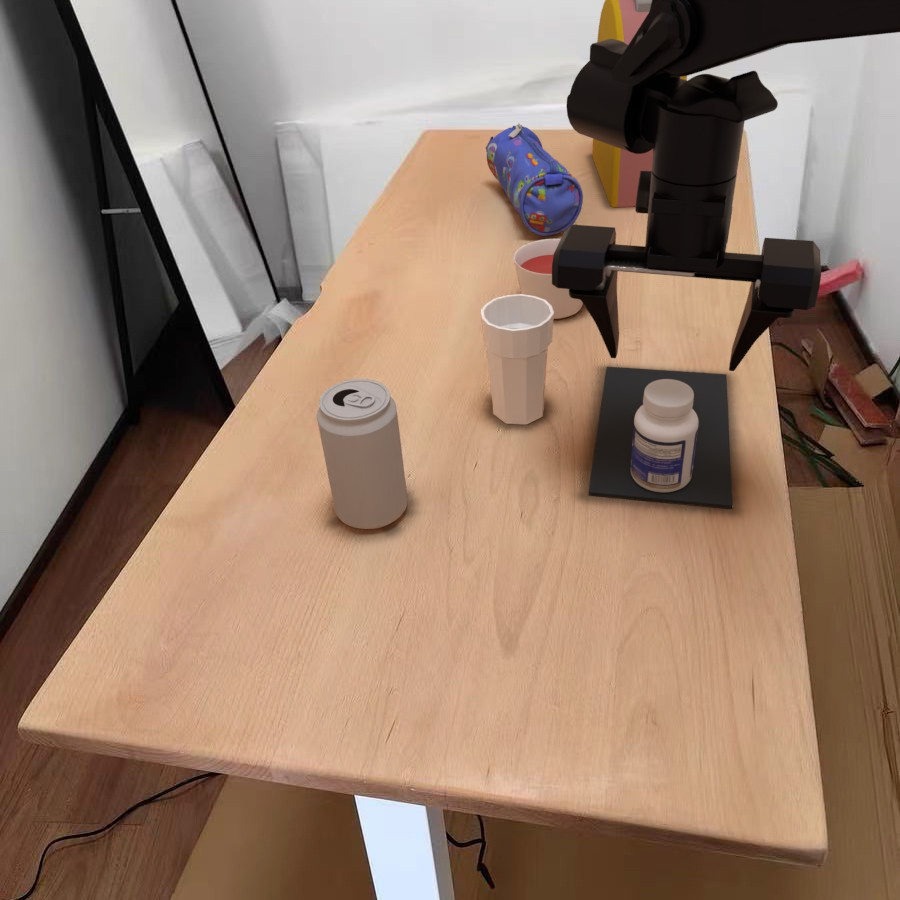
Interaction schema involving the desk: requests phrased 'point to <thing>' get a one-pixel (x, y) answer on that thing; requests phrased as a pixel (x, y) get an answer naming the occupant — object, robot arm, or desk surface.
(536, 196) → the pencil case
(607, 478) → the mat
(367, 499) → the beverage can
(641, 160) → the lunch box
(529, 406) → the cup
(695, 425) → the pill bottle
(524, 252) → the candle
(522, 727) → the desk surface
